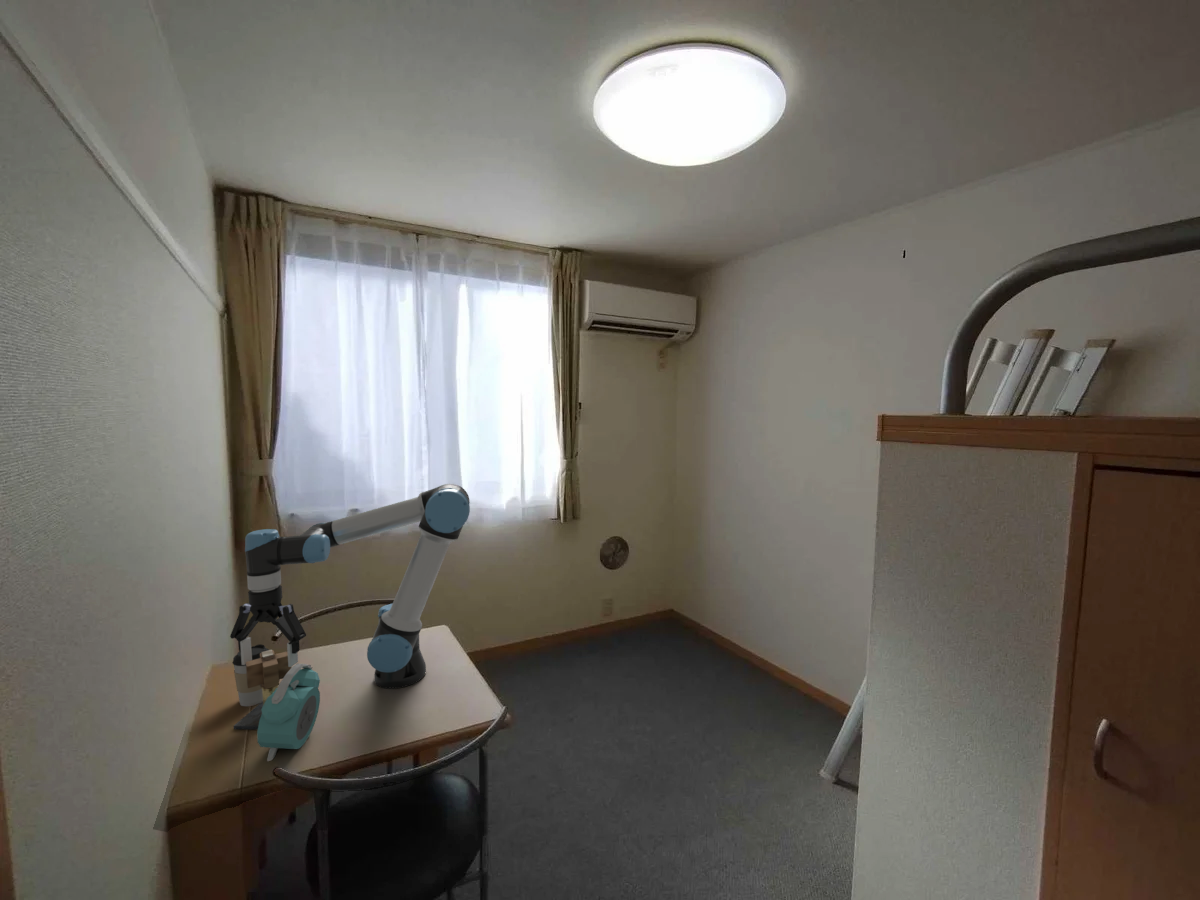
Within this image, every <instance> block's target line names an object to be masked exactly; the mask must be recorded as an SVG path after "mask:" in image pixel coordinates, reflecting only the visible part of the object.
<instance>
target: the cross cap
mask: <svg viewBox="0 0 1200 900" xmlns="http://www.w3.org/2000/svg"><path fill="white" fill-rule="evenodd" d="M292 667H293V666H292ZM292 667H288V652H287V651H286V650H285V651H283V652H279V653H276V654H275V651H274V649H269V650H268V651H264V652H261V653H260V658H259V659H255V660H251V661H248V662H246V676H247V686H248V688H252V687H255V686H258V685H260V686H261V687H263V688H265V689H268V688H272V687H275V686H279V684H280V682H281V681H280V680H282V679H283V678H284V676H285V675H286V673H287V672H288V671H289V670H290V669H291V668H292Z"/></svg>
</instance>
